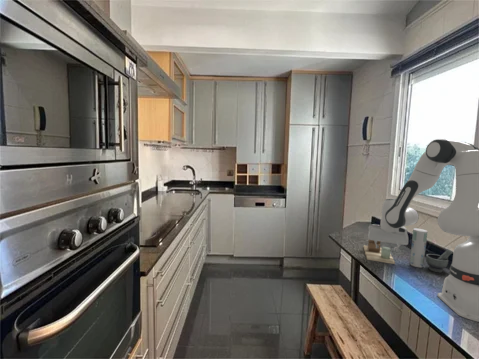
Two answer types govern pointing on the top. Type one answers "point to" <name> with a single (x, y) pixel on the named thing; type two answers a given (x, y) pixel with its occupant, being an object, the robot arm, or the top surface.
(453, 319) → the top surface
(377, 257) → the board
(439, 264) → the mortar and pestle
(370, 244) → the base block
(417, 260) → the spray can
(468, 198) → the robot arm
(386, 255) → the canister
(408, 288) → the top surface
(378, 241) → the top block
